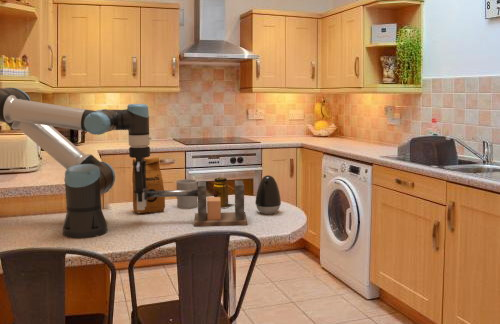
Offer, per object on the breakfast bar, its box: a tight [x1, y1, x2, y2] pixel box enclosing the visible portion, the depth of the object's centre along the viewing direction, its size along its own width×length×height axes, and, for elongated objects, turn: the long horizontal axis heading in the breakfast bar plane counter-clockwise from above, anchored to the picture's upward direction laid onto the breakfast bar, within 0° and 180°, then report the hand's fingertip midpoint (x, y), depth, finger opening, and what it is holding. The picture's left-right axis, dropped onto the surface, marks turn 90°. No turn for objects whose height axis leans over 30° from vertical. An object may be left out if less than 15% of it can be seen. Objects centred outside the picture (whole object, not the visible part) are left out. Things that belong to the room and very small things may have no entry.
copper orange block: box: [213, 177, 235, 209], centre depth 230 cm, size 7×8×12 cm
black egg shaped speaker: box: [254, 175, 282, 215], centre depth 217 cm, size 10×10×15 cm
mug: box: [176, 178, 198, 210], centre depth 231 cm, size 12×8×11 cm
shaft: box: [136, 188, 198, 200], centre depth 203 cm, size 24×4×4 cm, turn 94°
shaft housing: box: [193, 180, 248, 228], centre depth 205 cm, size 20×14×14 cm
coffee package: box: [131, 157, 166, 214], centre depth 220 cm, size 10×12×22 cm
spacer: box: [206, 196, 222, 220], centre depth 205 cm, size 5×7×7 cm
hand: (141, 208), depth 203 cm, fingers closed on shaft, 4 cm apart
